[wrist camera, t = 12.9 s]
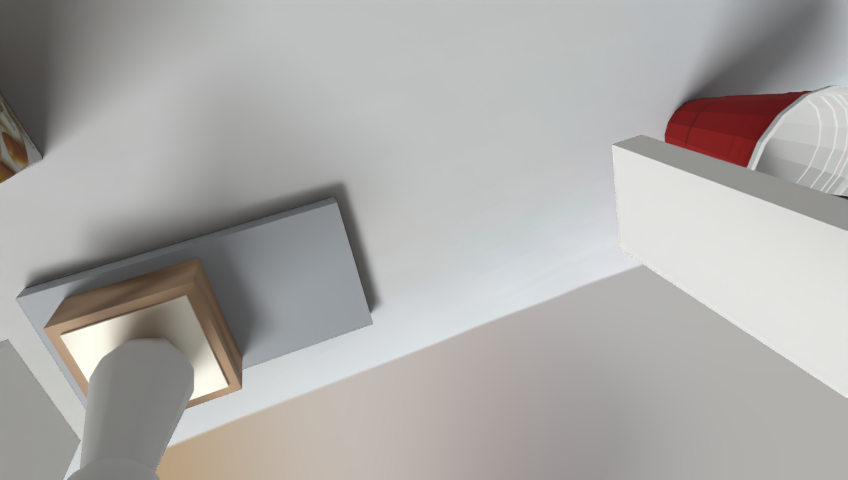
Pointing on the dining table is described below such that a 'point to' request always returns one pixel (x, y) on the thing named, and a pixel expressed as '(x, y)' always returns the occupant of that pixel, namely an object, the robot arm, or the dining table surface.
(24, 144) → the coffee box
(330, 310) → the build plate
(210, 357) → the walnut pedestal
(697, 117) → the plastic cup
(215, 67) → the dining table surface
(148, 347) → the salt shaker
